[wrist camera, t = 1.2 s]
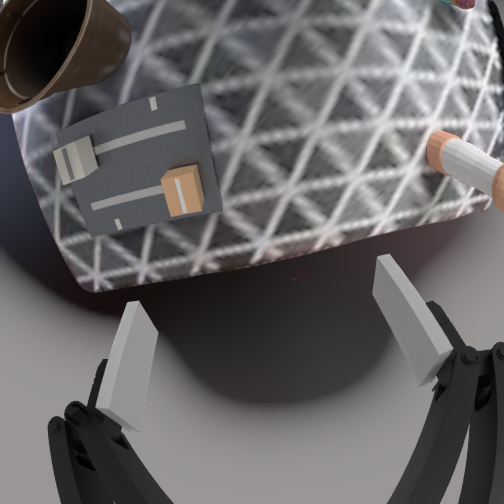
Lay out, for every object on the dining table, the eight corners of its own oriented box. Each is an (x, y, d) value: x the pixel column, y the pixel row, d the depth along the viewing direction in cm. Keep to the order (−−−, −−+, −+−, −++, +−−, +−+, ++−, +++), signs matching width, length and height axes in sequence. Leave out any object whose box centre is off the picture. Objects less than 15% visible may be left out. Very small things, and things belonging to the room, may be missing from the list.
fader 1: (67, 144, 29) (51, 152, 26) (89, 135, 29) (73, 141, 25) (77, 175, 32) (62, 186, 28) (98, 167, 32) (84, 177, 28)
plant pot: (48, 26, 19) (-21, 20, 6) (141, -17, 19) (95, -61, 6) (57, 113, 28) (-16, 138, 15) (152, 77, 28) (97, 71, 15)
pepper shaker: (423, 135, 34) (510, 178, 18) (451, 127, 33) (535, 164, 17) (429, 174, 38) (506, 229, 22) (455, 164, 37) (530, 211, 21)
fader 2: (167, 170, 33) (159, 180, 30) (196, 164, 33) (192, 173, 30) (176, 204, 36) (170, 217, 32) (204, 198, 36) (201, 212, 32)
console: (62, 130, 30) (55, 133, 28) (199, 84, 29) (197, 83, 28) (96, 231, 40) (91, 237, 38) (222, 205, 39) (222, 211, 38)
